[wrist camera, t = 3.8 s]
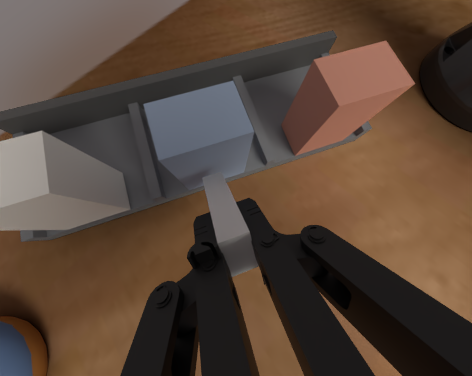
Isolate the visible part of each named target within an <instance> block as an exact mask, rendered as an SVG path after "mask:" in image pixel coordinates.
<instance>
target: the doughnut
mask: <svg viewBox="0 0 472 376" xmlns="http://www.w3.org/2000/svg"><path fill="white" fill-rule="evenodd" d="M47 368H48V359H47V349H46V345H45V343H44V340H43V338H42V336H41V334H40V332H39V331H38V330H37V329H36V328H35V327H34V326H32V325H31V324H30V323H29V322H28V321H25V320H22V319H19V318H16V317H12V316H0V376H46V374H47Z"/></svg>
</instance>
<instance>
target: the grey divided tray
mask: <svg viewBox="0 0 472 376" xmlns="http://www.w3.org/2000/svg"><path fill="white" fill-rule="evenodd" d="M336 38H337V36H336V34H335V33H334V31H328V32H324V33H320V34H316V35H312V36H308V37H304V38H300V39H296V40H292V41H288V42H283V43H279V44H275V45H271V46H267V47H263V48H259V49H255V50H251V51H247V52H243V53H239V54H234V55H230V56H226V57H222V58H218V59H214V60H210V61H206V62H202V63H198V64H194V65H189V66H185V67H181V68H177V69H173V70H169V71H165V72H161V73H157V74H153V75H149V76H144V77H140V78H136V79H132V80H128V81H124V82H120V83H116V84H112V85H108V86H104V87H99V88H95V89H91V90H87V91H83V92H79V93H75V94H71V95H67V96H63V97H59V98H54V99H50V100H46V101H42V102H38V103H34V104H30V105H26V106H22V107H18V108H14V109H9V110H5V111H1V112H0V129H2V130H4V131H6V132H8V133H11V134H13V138H15V137H19V136H23V135H27V134H31V133H35V132H38V131H44V132H45V133H47V134H49V135H51V136H53V137H55V138H57V139H59V140H61V141H63V142H65V143H66V144H68V145H70V146H72V147H74V148H76V149H78V150H80V151H82V152H84V153H86V154H87V155H89V156H91V157H93V158H95V159H97V160H99V161H101V162H103V163H105V164H107V165H108V166H110V167H112V168H114V169H116V170H118V171H120V172H122V173H123V177H124V181H125V186H126V191H127V195H128V200H129V204H130V210H127V211H124V212H121V213H118V214H115V215H112V216H109V217H105V218H102V219H99V220H96V221H93V222H90V223H87V224H84V225H81V226H78V227H75V228H72V229H69V230H20V234H21V242H23V241H39V240H52V239H55V238H59V237H62V236H65V235H68V234H71V233H74V232H77V231H80V230H83V229H86V228H89V227H92V226H95V225H98V224H101V223H104V222H107V221H110V220H113V219H117V218H120V217H123V216H126V215H129V214H132V213H135V212H138V211H141V210H144V209H147V208H150V207H153V206H156V205H159V204H162V203H165V202H168V201H171V200H175V199H178V198H181V197H184V196H187V195H190V194H193V193H196V192H199V191H202V190H205V187H204V186H201V187H198V188H195V189H192V190H189V189H188V188H187V187H185V186H184V185H183V184H182V183H181V182H180V181H179V180H178V179H177V178H176V177H175V176H174V175H173V174H172V173H171V172H170V171H169V170H168V169H167V168H166V167H165V166H164V165H163V164H162V163H161V162H159V161H158V157H157V153H156V149H155V146H154V142H153V138H152V135H151V131H150V127H149V123H148V120H147V116H146V112H145V109H144V105H143V104H145V103H149V102H153V101H157V100H161V99H165V98H168V97H172V96H176V95H180V94H184V93H188V92H191V91H195V90H199V89H203V88H207V87H210V86H214V85H218V84H222V83H226V82H230V81H234V83H235V86H236V88H237V91H238V93H239V96H240V98H241V100H242V103H243V105H244V108H245V110H246V113H247V115H248V117H249V120H250V122H251V125H252V127H253V130H254V135H253V139H252V143H251V147H250V151H249V155H248V159H247V163H246V167H245V171H244V173H241V174H238V175H235V176H232V177H229V178H226V179H225V181H226V182H229V181H233V180H236V179H239V178H242V177H245V176H248V175H251V174H254V173H257V172H260V171H263V170H266V169H269V168H272V167H275V166H278V165H281V164H284V163H287V162H291V161H294V160H297V159H300V158H303V157H306V156H309V155H312V154H315V153H318V152H321V151H324V150H327V149H330V148H333V147H336V146H339V145H342V144H345V143H349V142H352V141H355V140H356V139H358V138H359V137H360V136H362V135H363V134H365V133H366V132H367V131H369V130H370V129H372V127H371V126H370V124H369V122H368V121H367V122H366V123H364V124H363V125H362V126H360V127H359V128H358V129H357V130H355V131H354V132H353V133H351V134H350V135H349V136H348V137H346V138H345V139H344V140H343V141H339V142H336V143H333V144H330V145H327V146H324V147H321V148H318V149H315V150H312V151H309V152H306V153H303V154H299V155H296V156H295V155H294V153H293V151H292V148H291V146H290V144H289V142H288V140H287V137H286V135H285V133H284V131H283V129H282V126H281V124H282V122H283V120H284V118H285V116H286V114H287V112H288V110H289V108H290V106H291V104H292V102H293V100H294V98H295V96H296V94H297V92H298V90H299V88H300V86H301V84H302V82H303V80H304V78H305V76H306V74H307V72H308V70H309V68H310V66H311V64H312V62H313V60H314V59H318V58H321V57H325V56H329V53H328V52H329V50H330V49H331V47H332V45H333V43H334V41H335V40H336Z"/></svg>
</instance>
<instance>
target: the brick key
mask: <svg viewBox="0 0 472 376" xmlns="http://www.w3.org/2000/svg"><path fill="white" fill-rule="evenodd" d="M414 84H415V83H414V81H413V80H412V78H411V77H410V75H409V74H408V72H407V71H406V69H405V68H404V66H403V65H402V63H401V62H400V60H399V59H398V58H397V56H396V55H395V53H394V52H393V50H392V49H391V47H390V46H389V44H388V43H387V41H383V42H379V43H375V44H371V45H367V46H363V47H360V48H356V49H352V50H348V51H344V52H340V53H337V54H333V55H329V56H325V57H321V58H318V59H314V60H313V62H312V64H311V66H310V68H309V70H308V72H307V74H306V76H305V78H304V80H303V82H302V84H301V86H300V88H299V90H298V92H297V94H296V96H295V98H294V100H293V102H292V104H291V106H290V108H289V110H288V112H287V114H286V116H285V118H284V120H283V122H282V124H281V126H282V129H283V131H284V133H285V135H286V137H287V140H288V142H289V144H290V146H291V148H292V151H293V153H294V155H295V156H296V155H299V154H303V153H306V152H309V151H312V150H315V149H318V148H321V147H324V146H327V145H330V144H333V143H336V142H339V141H343V140H344V139H345V138H346V137H348V136H349V135H350V134H351V133H353V132H354V131H355V130H357V129H358V128H359V127H360V126H362V125H363V124H364V123H366V122H367V121H368V120H369V119H371V118H372V117H373V116H374V115H376V114H377V113H378V112H380V111H381V110H382V109H383V108H385V107H386V106H387V105H389V104H390V103H391V102H392V101H394V100H395V99H396V98H397V97H399V96H400V95H401V94H403V93H404V92H405V91H406V90H408V89H409V88H410V87H412V86H413V85H414Z"/></svg>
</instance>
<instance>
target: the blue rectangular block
mask: <svg viewBox="0 0 472 376" xmlns="http://www.w3.org/2000/svg"><path fill="white" fill-rule="evenodd" d="M143 105H144V109H145V112H146V116H147V120H148V123H149V127H150V131H151V135H152V138H153V142H154V146H155V149H156V153H157V157H158V161H159V162H161V163H162V164H163V165H164V166H165V167H166V168H167V169H168V170H169V171H170V172H171V173H172V174H173V175H174V176H175V177H176V178H177V179H178V180H179V181H180V182H181V183H182V184H183V185H184V186H185V187H187V188H188V189H189V190H192V189H195V188H198V187H201V186H204V183H203V179H202V178H203V177H206V176H209V175H212V174H215V173H218V172H222V174H223V176H224V179H226V178H229V177H232V176H235V175H238V174H241V173H244V171H245V167H246V163H247V159H248V155H249V151H250V147H251V143H252V139H253V135H254V130H253V127H252V125H251V122H250V120H249V117H248V115H247V113H246V110H245V108H244V105H243V103H242V100H241V98H240V96H239V93H238V91H237V88H236V86H235V83H234V81H230V82H226V83H222V84H218V85H214V86H210V87H207V88H203V89H199V90H195V91H191V92H188V93H184V94H180V95H176V96H172V97H168V98H165V99H161V100H157V101H153V102H149V103H145V104H143Z"/></svg>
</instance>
